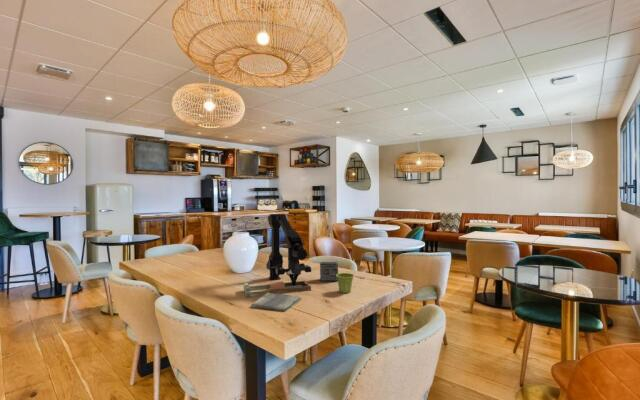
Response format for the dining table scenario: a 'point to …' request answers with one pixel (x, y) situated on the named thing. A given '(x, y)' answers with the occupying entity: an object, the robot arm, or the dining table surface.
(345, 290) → the plant pot
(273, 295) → the dish towel
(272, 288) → the block
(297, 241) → the robot arm
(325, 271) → the small box
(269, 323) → the dining table surface
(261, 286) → the channel
